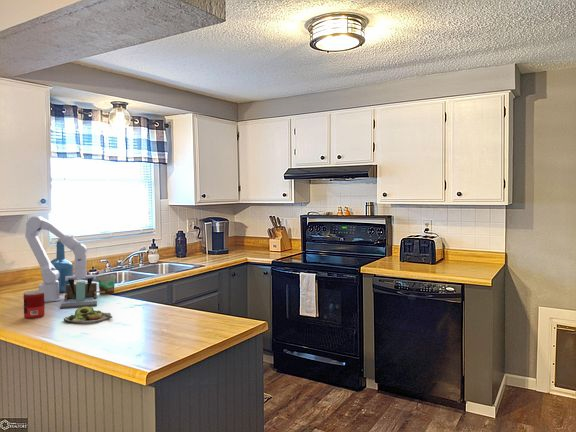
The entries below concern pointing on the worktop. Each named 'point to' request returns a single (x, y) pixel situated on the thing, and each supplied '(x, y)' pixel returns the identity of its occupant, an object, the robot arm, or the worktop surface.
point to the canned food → (34, 304)
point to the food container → (107, 284)
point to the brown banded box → (91, 291)
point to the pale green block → (80, 290)
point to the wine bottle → (62, 266)
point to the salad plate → (87, 316)
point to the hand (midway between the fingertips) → (80, 293)
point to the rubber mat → (78, 304)
